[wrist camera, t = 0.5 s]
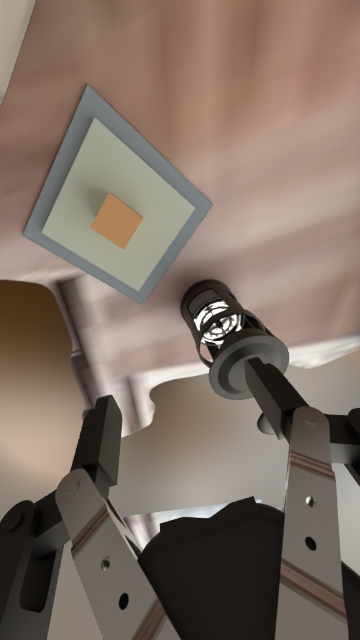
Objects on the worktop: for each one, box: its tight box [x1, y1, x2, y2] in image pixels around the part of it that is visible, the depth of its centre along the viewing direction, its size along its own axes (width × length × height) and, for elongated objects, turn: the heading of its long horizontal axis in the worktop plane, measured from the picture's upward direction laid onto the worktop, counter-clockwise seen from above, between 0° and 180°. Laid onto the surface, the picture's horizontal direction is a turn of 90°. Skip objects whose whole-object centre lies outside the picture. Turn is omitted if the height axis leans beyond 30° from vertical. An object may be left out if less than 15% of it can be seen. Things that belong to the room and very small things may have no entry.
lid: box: [42, 117, 195, 291], centre depth 25 cm, size 14×14×6 cm
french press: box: [181, 280, 289, 434], centre depth 27 cm, size 12×9×23 cm
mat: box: [23, 85, 213, 305], centre depth 28 cm, size 18×18×1 cm
